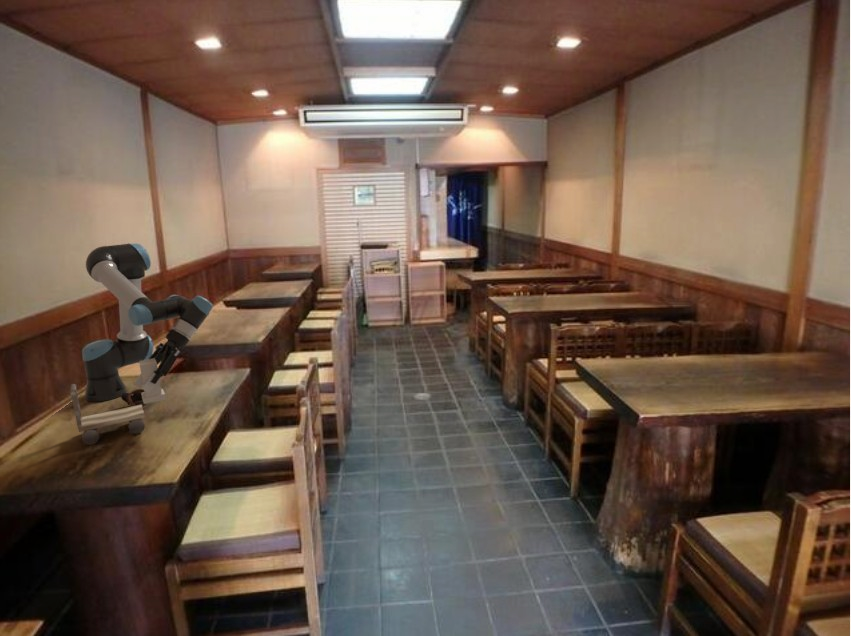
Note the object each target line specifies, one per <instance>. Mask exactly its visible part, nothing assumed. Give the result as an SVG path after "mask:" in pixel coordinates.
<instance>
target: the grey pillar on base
mask: <svg viewBox="0 0 851 636" xmlns="http://www.w3.org/2000/svg"><path fill="white" fill-rule="evenodd" d="M138 364H139V369H140V374H141V375H142V381H143V385H142V388H143V387H144V385H145V384H146V382H147V381H148V380H149V378H150V377H151V376H152V374H153V373H154V371H157V369H158V365H157V362H156V360H155V358H153V359H147V360H142V361H139V363H138ZM155 374H156V373H155ZM160 381H161V380H160V379H159V380H158V381H157V383H156V384H155V386H154V387H153V388H152V390H151V391H150V393H149V392H147V391H145V390H144V392H142V393H141V395H142V399H143V402H144V404H146V405H147V404H151V403H156V402H159V401H161V402H162V401H164V400H167V398H166V392H165V391H164V389H163V388H162V387H161V382H160Z"/></svg>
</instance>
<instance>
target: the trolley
mask: <svg viewBox="0 0 851 636" xmlns="http://www.w3.org/2000/svg"><path fill="white" fill-rule="evenodd" d="M69 392H70V396H71V401H72V406H73V411H74V415H75V420H76V426H77V428H78V432H79V433H81V432H82V435H81V440H82V443H84V444H85V445H88V446H90V445H94V444H96V443H97V442H98V441H99V439H100V434H99V431H98V429H99V428H103V427H108V426H113V425H118V424H121V423H126V422H128V430H129V433H131V434H135V435H137V434H140V433H142V432H143V431H144V430H145V427H146V425H145V422H144V420H142V419H144V418H145V417H146V415H145V412H144V407H143V406H142V404H141V405H137V406H132V407H131V406H128V407H124V408H119V409H118V408H117V409H114V410H109V411H105V412H101V413H96V414H90V415H87V416H86V415H85V416H82V411H81V405H80V402H79V397H78V392H77V384H75V383H72V384H71V385H70V391H69Z"/></svg>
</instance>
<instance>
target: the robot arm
mask: <svg viewBox="0 0 851 636" xmlns="http://www.w3.org/2000/svg"><path fill="white" fill-rule="evenodd" d="M151 264H152V262H151V257H150V254H149V252H148V251H147V249H146V248H145V247H144V246H143V245H142V244H140V243H122V244H114V245H104V246H103V245H102V246H98V247H97V248H94V249H93V250H91V251H90V253H89V254H88V256H87V257H86V261H85V269H86V272H87V274H88V275H89V276H90V277H91V278H92V279H93V280H94V281H95V282H97V283H101V284H102V285H103V286H104V287H105V288H106V289H107V290H108V291H109V292H110V293H111V294H113V296H114V297H115V298H116V299H118V309H119V311H118V313H119V327H120V329H119V332H118V333H117V334H116V340H114V341H113V340H112V339H110V338H106V339H105V338H103V339H101V340H100V339H98V340H96V341H92V342H90V343H88V344H86V345H85V346H84V347H82V350H81V353H82V354H81V355H82V356H81V357H82V361H83V365H84V366H83V367H84V371H85V376H86V381H87V382H86V387H85V392H84V397H85V400H86V401H87V402H91V403H92V402H93V403H98V402H104V401H105V402H106V401H110V400H114V399H117V398H121V395H122V394H123V393H127V387H126V385H125V383H124V382H123V379H122V378H121V377H120V374H119V369H120V368H124V367H127V366H130V365H134V364H139V361H142V360H147V359H153V358H155V360H156V362H157V368H158V369H157V371H154V373H153V374H152V376H151V377H150V378H149V380H148V381H147V382H146V384H145V385H144V387H143V381H142V375H141V373H140V374H139V376H138V377H137V378H136V380H135V381H134V382H133V385H134V386H136V387H138V388H139V389H143V390H145V391H147V392H149V393H150V391H151V390H152V388H153V387H154V386H155V384H156V383H157V381H158V380H160V378H161V377H166V376H167V375H168V373H169V371H170V370H171V369H172V366H174V364H175V362H176V361H177V359H178V358H179V357H180V356H181V354H182V352H181V351H180V350H179V349H180V348H182V349H184V348H185V347H187V345H188V343H189V342H190V339H192V337H193V336H194V335H195V334H196V332H197V331H198V330H199V328H200V326H201V325H202V324H203V323H204V321H205V320H206V318H207V317H208V316H209V315H210V313H211V311H212V309H213V307H214V304H212V302H211V301H210V300H208V299H207V298H205V297H203V296H201V295H196V296H194V298H192V299H190V298H188V297H185V296H183V295H178V294H171V295H170V296H168V297H167V298H165V299H162V300H156V301H152V299H150V298H148V297H147V296H146V295H145V294H144V293H143V291H142V280H143V279H144V278H145V277H146V273H145V271H148V270H150V269H151V266H152V265H151ZM176 318H178V319H177V320H176V322H175V323H174V324H173V325H172V329H170V330H169V331H168V332H167V334H166V335H165V339H166V340H167V341H166V342H165V343H162V342H160V343H159V345H158V346H157V348H156V349H155V350H154V343H153V339H152V338H151V336H150V335H148V334H147V332H146V331H145V330H144V326H147V325H150V324H154V323H159V322H163V321H168V320H173V319H176ZM155 373H156V374H155Z"/></svg>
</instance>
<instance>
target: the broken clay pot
mask: <svg viewBox="0 0 851 636" xmlns="http://www.w3.org/2000/svg"><path fill="white" fill-rule="evenodd" d="M142 392H144V390H143V389H142V388H137V389H133V390H131V391H130V392H126V393H123V394H122V395H121V396H120V398H121V400H122V401H123V402H125V403H127V405H128V406H130V407H132V406H137V405H141V404H142V407H145V406H147V404H144V402H143V399H142V395H141V393H142Z"/></svg>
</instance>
